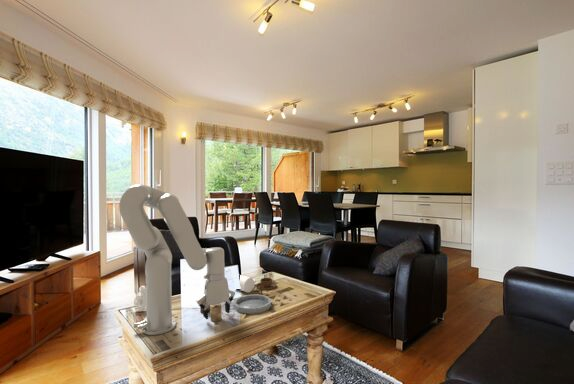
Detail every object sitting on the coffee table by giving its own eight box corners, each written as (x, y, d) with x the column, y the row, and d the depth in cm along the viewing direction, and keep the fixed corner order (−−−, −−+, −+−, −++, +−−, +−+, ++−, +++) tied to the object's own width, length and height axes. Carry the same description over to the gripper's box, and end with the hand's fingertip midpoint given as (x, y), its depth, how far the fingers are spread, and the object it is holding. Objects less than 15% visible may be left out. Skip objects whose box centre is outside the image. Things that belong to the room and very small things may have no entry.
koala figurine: (152, 311, 136) (152, 285, 136) (136, 315, 132) (136, 288, 132) (148, 305, 143) (147, 281, 143) (132, 309, 139) (132, 284, 139)
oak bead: (212, 323, 124) (212, 308, 124) (209, 319, 128) (209, 305, 127) (223, 320, 126) (222, 306, 126) (219, 316, 130) (219, 302, 130)
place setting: (284, 288, 169) (284, 277, 169) (262, 298, 153) (262, 287, 153) (261, 282, 179) (261, 273, 179) (238, 291, 163) (238, 281, 163)
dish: (243, 317, 129) (243, 311, 129) (227, 304, 144) (227, 299, 144) (277, 307, 139) (277, 302, 139) (259, 296, 154) (259, 292, 154)
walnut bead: (202, 314, 132) (202, 301, 132) (199, 311, 136) (198, 298, 136) (212, 312, 135) (211, 299, 135) (208, 308, 139) (208, 296, 139)
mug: (244, 294, 158) (244, 279, 158) (232, 290, 164) (231, 276, 164) (259, 288, 167) (259, 274, 167) (247, 285, 173) (247, 271, 173)
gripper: (199, 282, 119) (200, 323, 119) (237, 274, 129) (238, 312, 129) (193, 277, 125) (194, 317, 125) (230, 270, 135) (231, 307, 135)
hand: (217, 315), depth 127 cm, fingers open, 9 cm apart
